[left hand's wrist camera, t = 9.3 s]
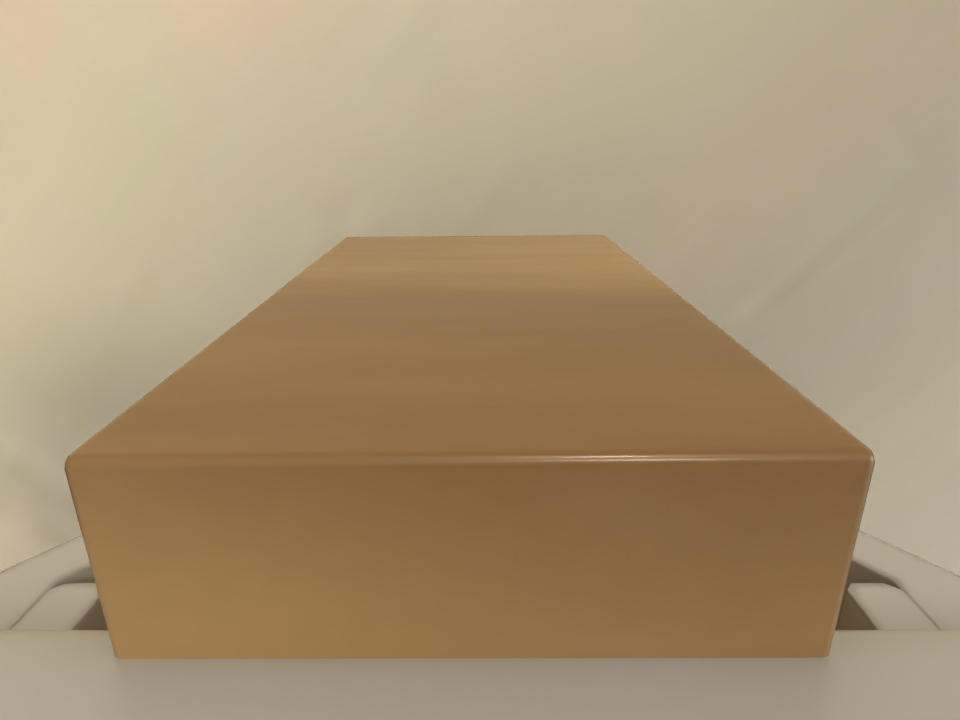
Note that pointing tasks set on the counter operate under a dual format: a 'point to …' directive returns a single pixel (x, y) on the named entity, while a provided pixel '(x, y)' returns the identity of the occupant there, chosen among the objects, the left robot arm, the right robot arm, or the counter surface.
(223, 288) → the counter surface
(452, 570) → the bar
